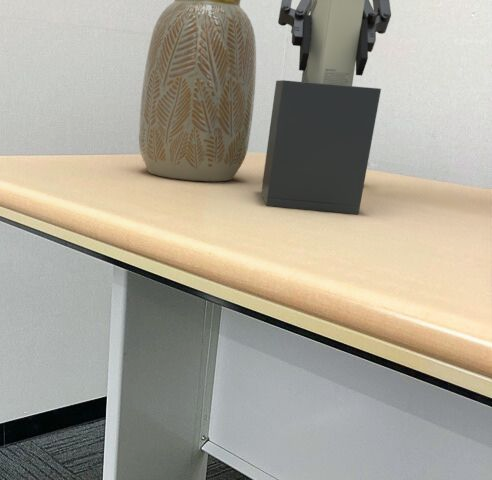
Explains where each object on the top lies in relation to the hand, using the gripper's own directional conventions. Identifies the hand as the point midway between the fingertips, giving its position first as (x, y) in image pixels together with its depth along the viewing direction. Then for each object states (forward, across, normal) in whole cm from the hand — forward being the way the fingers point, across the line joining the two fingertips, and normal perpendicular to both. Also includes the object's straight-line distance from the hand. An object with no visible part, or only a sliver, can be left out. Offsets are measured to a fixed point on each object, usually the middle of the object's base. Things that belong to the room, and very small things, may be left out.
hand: (332, 64), depth 91 cm
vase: (-3, +16, -28) cm, 32 cm away
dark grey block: (+10, 0, -15) cm, 18 cm away
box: (+1, 0, -6) cm, 6 cm away
